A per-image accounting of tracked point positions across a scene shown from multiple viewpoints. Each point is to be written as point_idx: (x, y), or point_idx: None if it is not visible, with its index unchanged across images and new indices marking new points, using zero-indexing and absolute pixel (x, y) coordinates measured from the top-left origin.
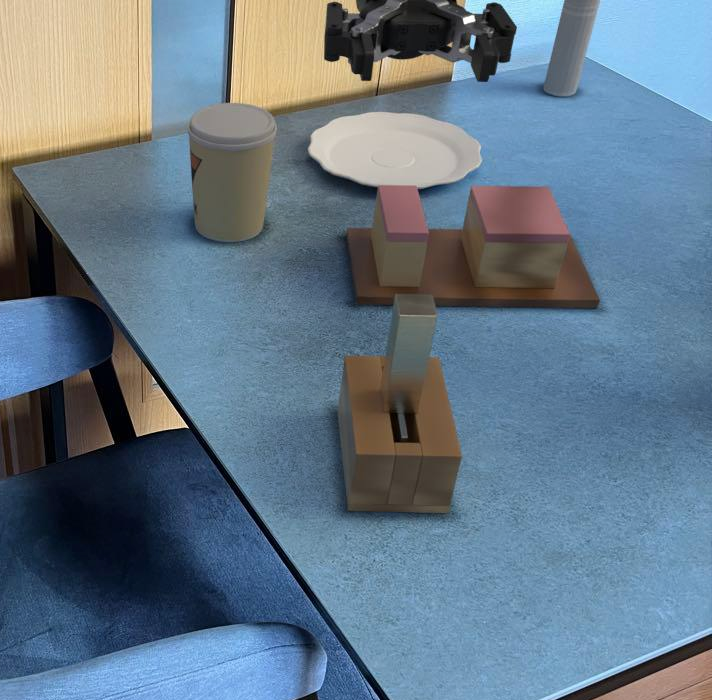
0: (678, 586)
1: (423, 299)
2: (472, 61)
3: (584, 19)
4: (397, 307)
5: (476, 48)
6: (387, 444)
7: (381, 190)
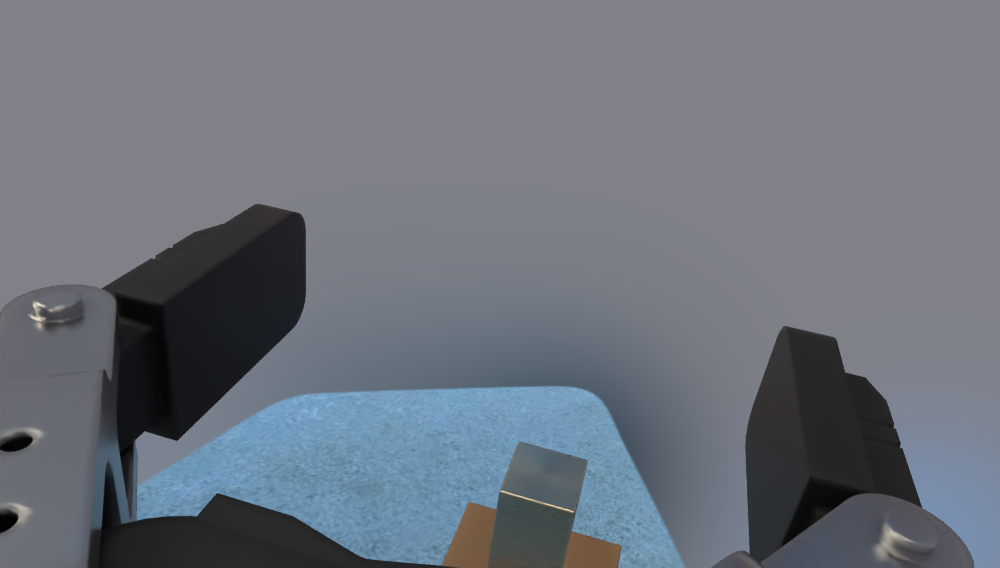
0: (267, 428)
1: (524, 483)
2: (191, 402)
3: None
4: (582, 481)
5: (210, 314)
6: (568, 549)
7: None
